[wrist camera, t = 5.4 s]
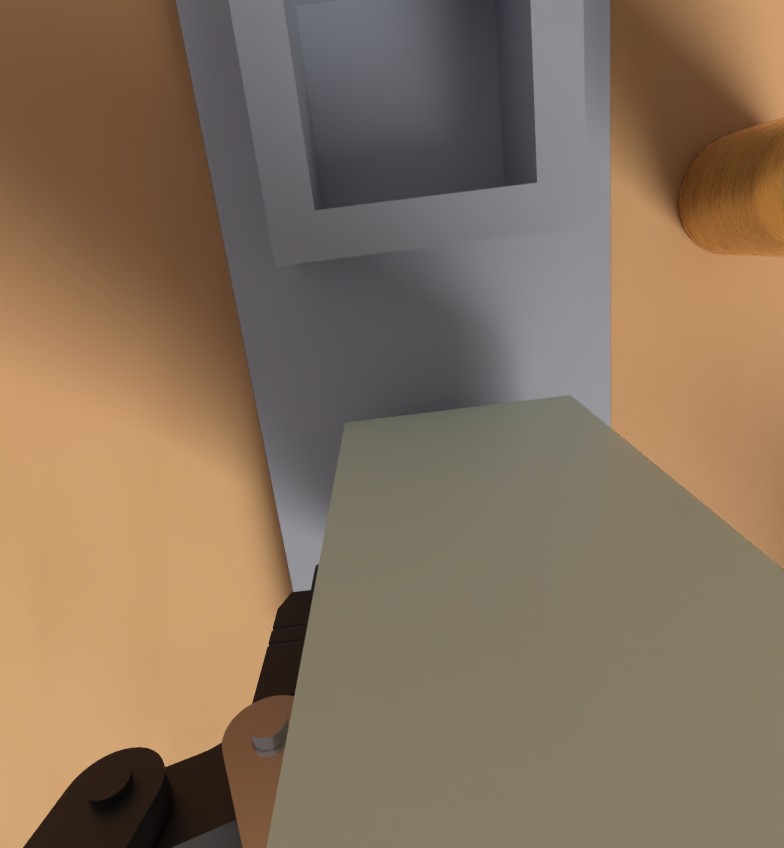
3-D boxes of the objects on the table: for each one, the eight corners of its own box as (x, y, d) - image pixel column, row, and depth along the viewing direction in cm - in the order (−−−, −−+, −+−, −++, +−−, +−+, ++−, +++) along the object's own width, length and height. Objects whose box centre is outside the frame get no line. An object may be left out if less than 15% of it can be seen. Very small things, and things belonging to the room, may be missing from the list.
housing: (570, 394, 14) (1263, 965, 3) (575, 588, 16) (1030, 1401, 5) (344, 422, 14) (224, 1073, 3) (374, 612, 16) (363, 1462, 5)
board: (589, -202, 13) (1200, -1453, 3) (597, 607, 20) (811, 957, 10) (159, -146, 13) (-433, -1221, 4) (312, 642, 20) (253, 1023, 10)
